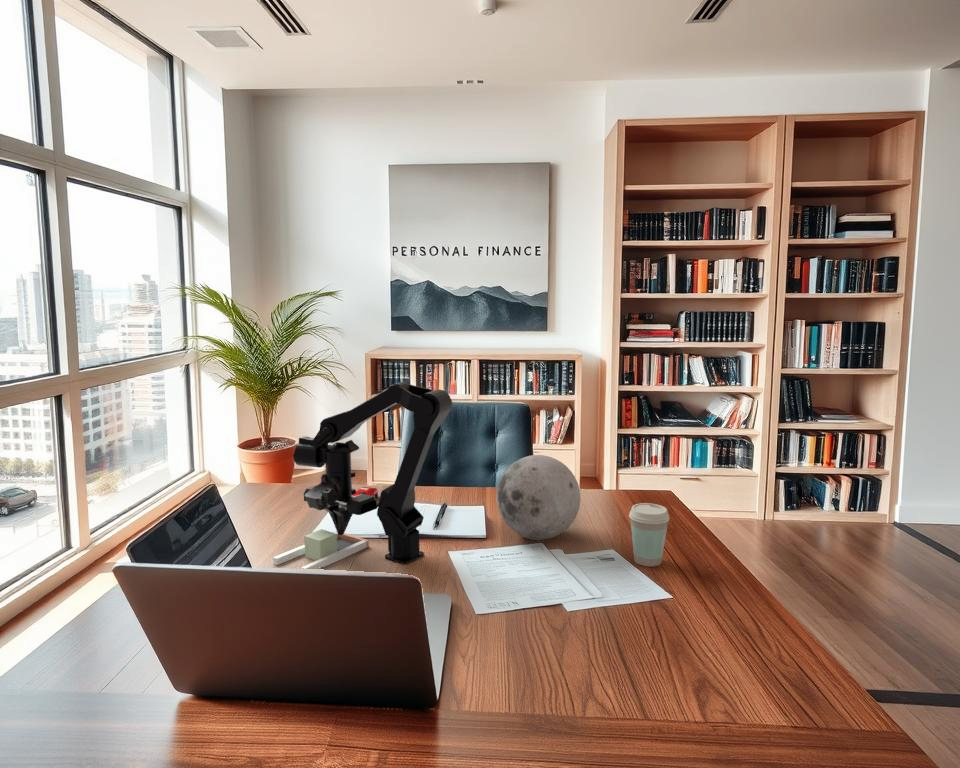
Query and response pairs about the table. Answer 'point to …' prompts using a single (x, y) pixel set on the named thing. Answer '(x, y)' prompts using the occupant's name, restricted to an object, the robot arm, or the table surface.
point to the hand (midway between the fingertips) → (341, 534)
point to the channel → (322, 561)
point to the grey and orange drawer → (348, 541)
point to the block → (320, 544)
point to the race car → (367, 491)
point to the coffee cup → (648, 533)
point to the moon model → (538, 497)
